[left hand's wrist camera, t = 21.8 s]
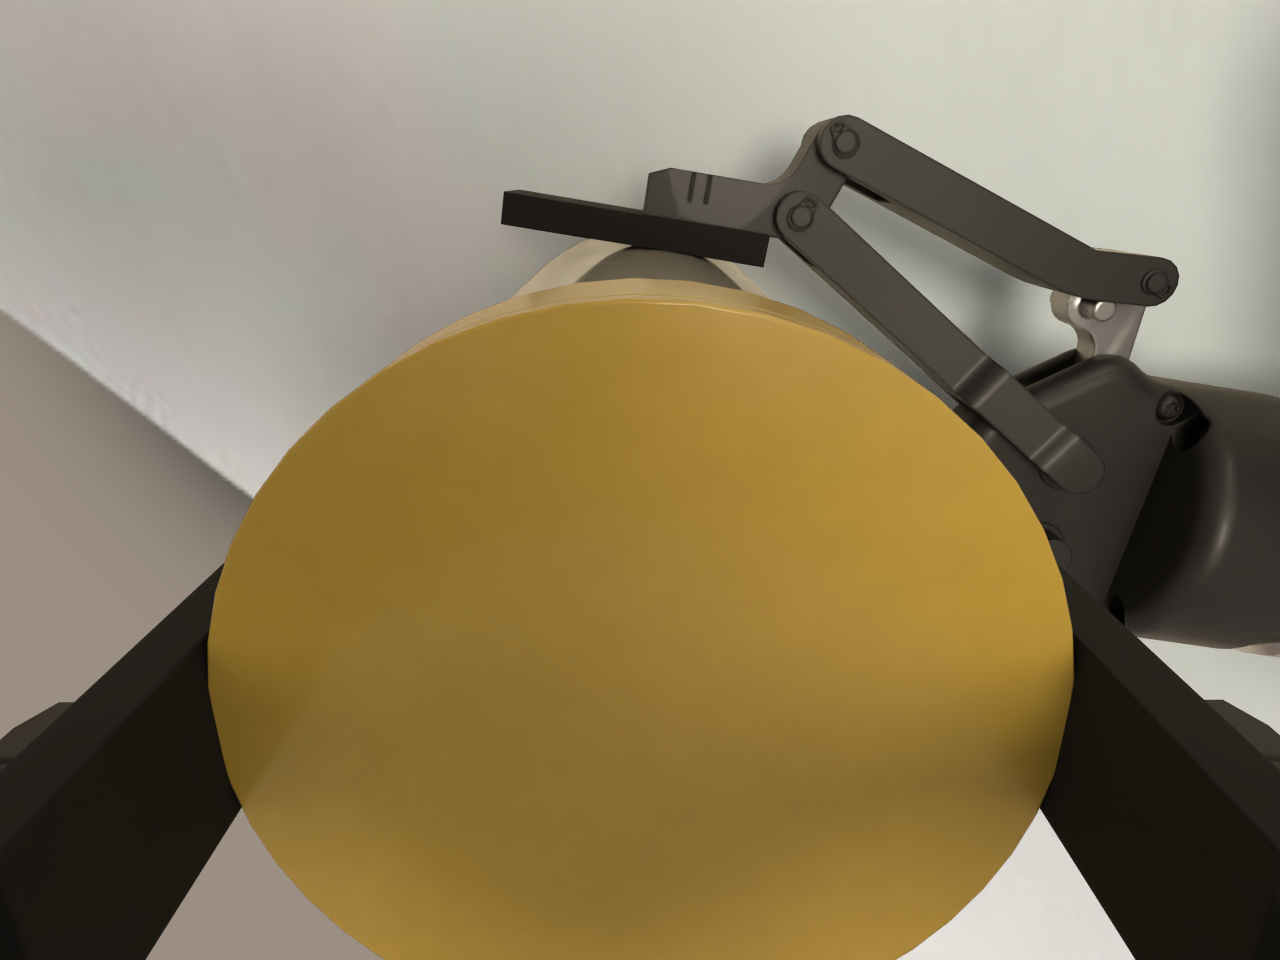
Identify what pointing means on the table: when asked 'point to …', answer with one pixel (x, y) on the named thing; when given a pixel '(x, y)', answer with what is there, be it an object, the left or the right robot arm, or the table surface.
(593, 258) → the jar
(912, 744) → the lid
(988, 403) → the right robot arm
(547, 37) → the table surface
